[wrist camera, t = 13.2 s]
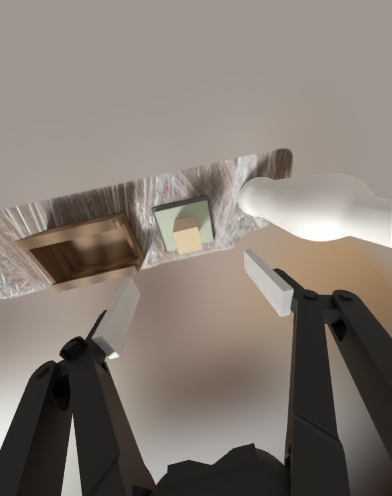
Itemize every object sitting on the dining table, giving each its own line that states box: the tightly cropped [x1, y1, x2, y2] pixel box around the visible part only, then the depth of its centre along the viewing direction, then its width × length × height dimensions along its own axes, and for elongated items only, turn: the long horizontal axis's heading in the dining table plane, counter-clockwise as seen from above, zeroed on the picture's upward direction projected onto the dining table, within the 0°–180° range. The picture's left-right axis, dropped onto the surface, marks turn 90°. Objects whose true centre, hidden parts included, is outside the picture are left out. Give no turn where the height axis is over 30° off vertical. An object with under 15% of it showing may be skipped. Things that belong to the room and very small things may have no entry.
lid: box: [154, 200, 214, 255], centre depth 29 cm, size 12×10×10 cm
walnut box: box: [14, 212, 145, 292], centre depth 31 cm, size 18×12×7 cm
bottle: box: [238, 173, 392, 248], centre depth 19 cm, size 8×8×30 cm
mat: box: [152, 196, 214, 251], centre depth 34 cm, size 13×11×1 cm
